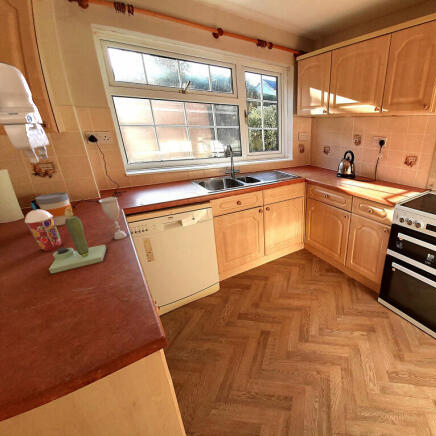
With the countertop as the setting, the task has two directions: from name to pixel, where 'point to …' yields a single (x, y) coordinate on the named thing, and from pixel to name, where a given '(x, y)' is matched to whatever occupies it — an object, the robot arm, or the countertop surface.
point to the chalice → (112, 213)
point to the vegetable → (76, 232)
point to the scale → (76, 258)
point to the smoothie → (43, 229)
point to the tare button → (62, 250)
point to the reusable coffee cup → (55, 205)
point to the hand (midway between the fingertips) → (40, 160)
